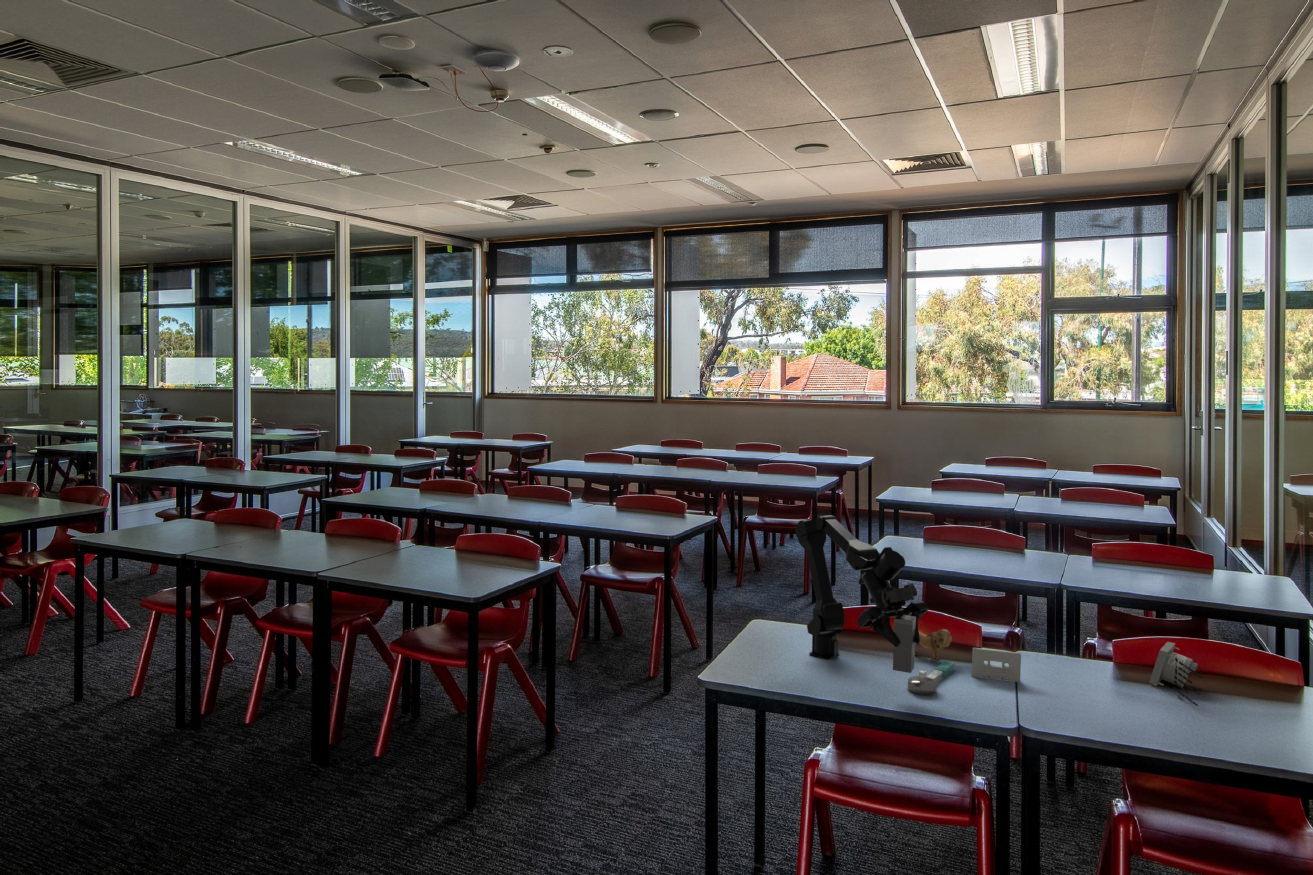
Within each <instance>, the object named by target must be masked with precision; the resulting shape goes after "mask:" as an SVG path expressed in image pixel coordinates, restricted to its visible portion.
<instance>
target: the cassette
mask: <svg viewBox="0 0 1313 875" xmlns="http://www.w3.org/2000/svg"><path fill="white" fill-rule="evenodd" d="M971 656H972V658H971V675H970V676H972V677H976V678H980V679H989V680H995V681H997V680H998V681H1004V682H1005V681H1006V682H1010V683H1011V682H1012V683H1013V682H1015V683H1020V682H1021V665H1022V654H1021V652H1014V651H1006V650H999V649H998V650H997V649H990V648H980V647H972V654H971ZM986 662H987V663H986ZM991 662H997V663H1001V665H997V664H991ZM1005 664H1008V665H1005Z"/></svg>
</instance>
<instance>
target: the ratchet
mask: <svg viewBox="0 0 1313 875" xmlns="http://www.w3.org/2000/svg"><path fill="white" fill-rule="evenodd" d="M954 671H955V662H952V661H949V660H948V661H947V660H944V661H943V662H942V663H940V664H939V665H938V666H937V667H935V668H934V671H932V672H931V673H929V674H928V675H927V671H926V670H922V669H920V670H919V671H918V675H916V676H915V675H914V676H910V677H908V678H907V691H908V692H909V693H911V694H913V695H916V696H917V695H918V696H922V697H923V696H924V697H931V696H935V695H936V694H937V691H938V690H937V687H938V686H937V684H938V683H939V682H941V680H943V679H945V678H946V677H947V676H949V675H950V674H951V673H952V672H954Z"/></svg>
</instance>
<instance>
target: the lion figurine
mask: <svg viewBox="0 0 1313 875" xmlns="http://www.w3.org/2000/svg"><path fill="white" fill-rule="evenodd" d="M919 637H920V643H918V644H919V645H920V646H921V647H922V648H924V649H929V651H930V653H929V654H930V660H932V661H931V662H936V661H937V660H938V659H940V658H939V656H938V651H939V652H941V651H943V650H944V648H947V647H949V646H950V645H951V643H952V639H953V637H952V636H951V632H950V631H949V630H948V629H945V628H943V629H939V630H937V631H934V632H930V633H929V634H925V633H923V632H922V631H920V630H919ZM918 644H917V643H916V642H915V646H916V645H918ZM915 655H916V656H917V653H916V652H915ZM935 658H936V659H935Z"/></svg>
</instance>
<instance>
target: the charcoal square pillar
mask: <svg viewBox="0 0 1313 875" xmlns="http://www.w3.org/2000/svg"><path fill="white" fill-rule="evenodd" d="M893 623H894V624H893V626H894V627H893V632H894V634H895V636H896V638H897V640H898V643H899V646H898V647H895V646H894V645H893V652H892V653H893V654H892V656H893V657H892V670H893V671H897V672H903V673H909V674H912V672H913V670H914V669H915V659H916V658H915V653H916V651H915V650H916V645H915V629H916V617H914V616H907V615H899V614H898V615H897V616H896V617H894V621H893Z"/></svg>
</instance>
